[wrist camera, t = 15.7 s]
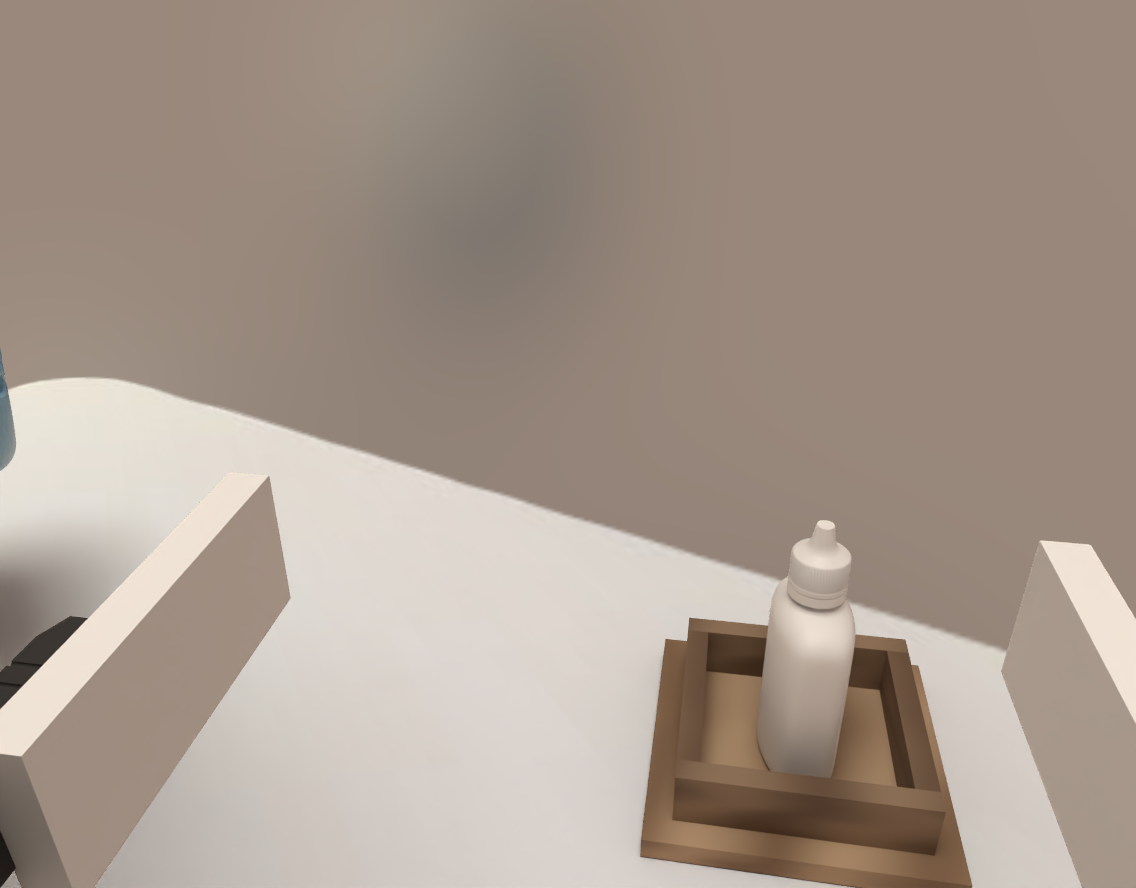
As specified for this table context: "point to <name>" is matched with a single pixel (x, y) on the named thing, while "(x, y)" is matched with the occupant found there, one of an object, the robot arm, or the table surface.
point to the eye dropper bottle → (807, 659)
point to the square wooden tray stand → (792, 801)
